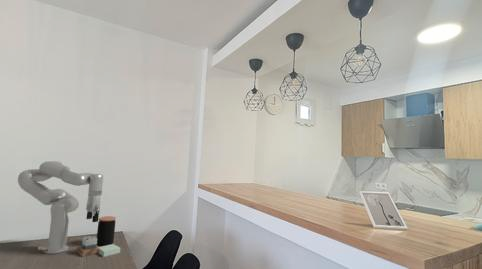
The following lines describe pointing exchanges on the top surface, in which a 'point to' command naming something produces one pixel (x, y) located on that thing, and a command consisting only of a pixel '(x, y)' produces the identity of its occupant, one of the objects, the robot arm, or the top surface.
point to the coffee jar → (106, 231)
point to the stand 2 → (109, 250)
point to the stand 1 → (87, 251)
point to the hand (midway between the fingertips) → (92, 220)
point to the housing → (89, 242)
